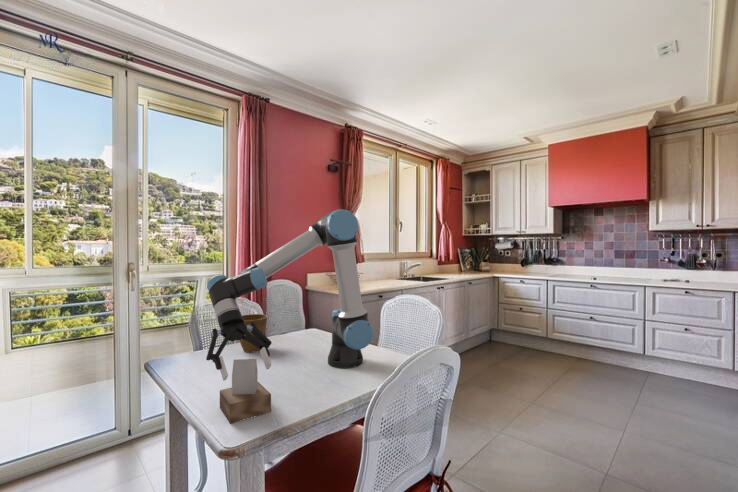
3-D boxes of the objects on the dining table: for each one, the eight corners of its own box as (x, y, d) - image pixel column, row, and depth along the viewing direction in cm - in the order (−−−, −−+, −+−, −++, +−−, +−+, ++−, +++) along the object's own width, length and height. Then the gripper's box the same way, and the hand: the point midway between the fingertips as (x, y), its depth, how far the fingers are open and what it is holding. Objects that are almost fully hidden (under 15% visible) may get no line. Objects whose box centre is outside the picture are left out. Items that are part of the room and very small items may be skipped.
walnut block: (257, 399, 118) (257, 381, 118) (271, 413, 109) (270, 393, 109) (219, 409, 111) (219, 390, 111) (230, 425, 102) (230, 404, 102)
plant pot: (254, 344, 182) (254, 312, 182) (273, 349, 173) (273, 316, 173) (228, 351, 170) (227, 317, 170) (247, 357, 161) (247, 321, 161)
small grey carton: (254, 393, 109) (254, 361, 108) (231, 394, 108) (231, 361, 108) (257, 388, 112) (257, 357, 112) (235, 389, 112) (235, 357, 111)
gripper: (260, 317, 130) (281, 368, 119) (186, 328, 113) (202, 389, 102) (267, 304, 126) (289, 356, 115) (191, 313, 109) (208, 376, 98)
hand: (248, 372), depth 108 cm, fingers open, 13 cm apart
